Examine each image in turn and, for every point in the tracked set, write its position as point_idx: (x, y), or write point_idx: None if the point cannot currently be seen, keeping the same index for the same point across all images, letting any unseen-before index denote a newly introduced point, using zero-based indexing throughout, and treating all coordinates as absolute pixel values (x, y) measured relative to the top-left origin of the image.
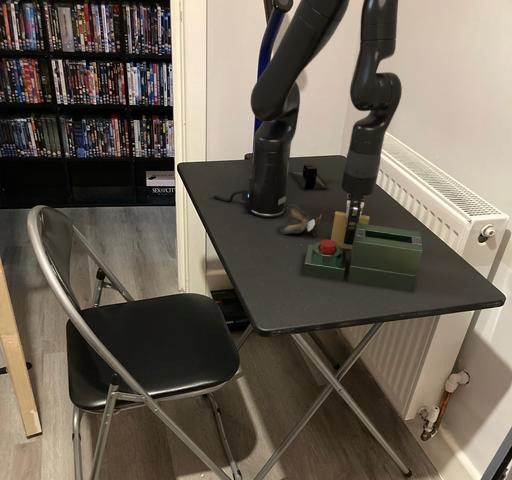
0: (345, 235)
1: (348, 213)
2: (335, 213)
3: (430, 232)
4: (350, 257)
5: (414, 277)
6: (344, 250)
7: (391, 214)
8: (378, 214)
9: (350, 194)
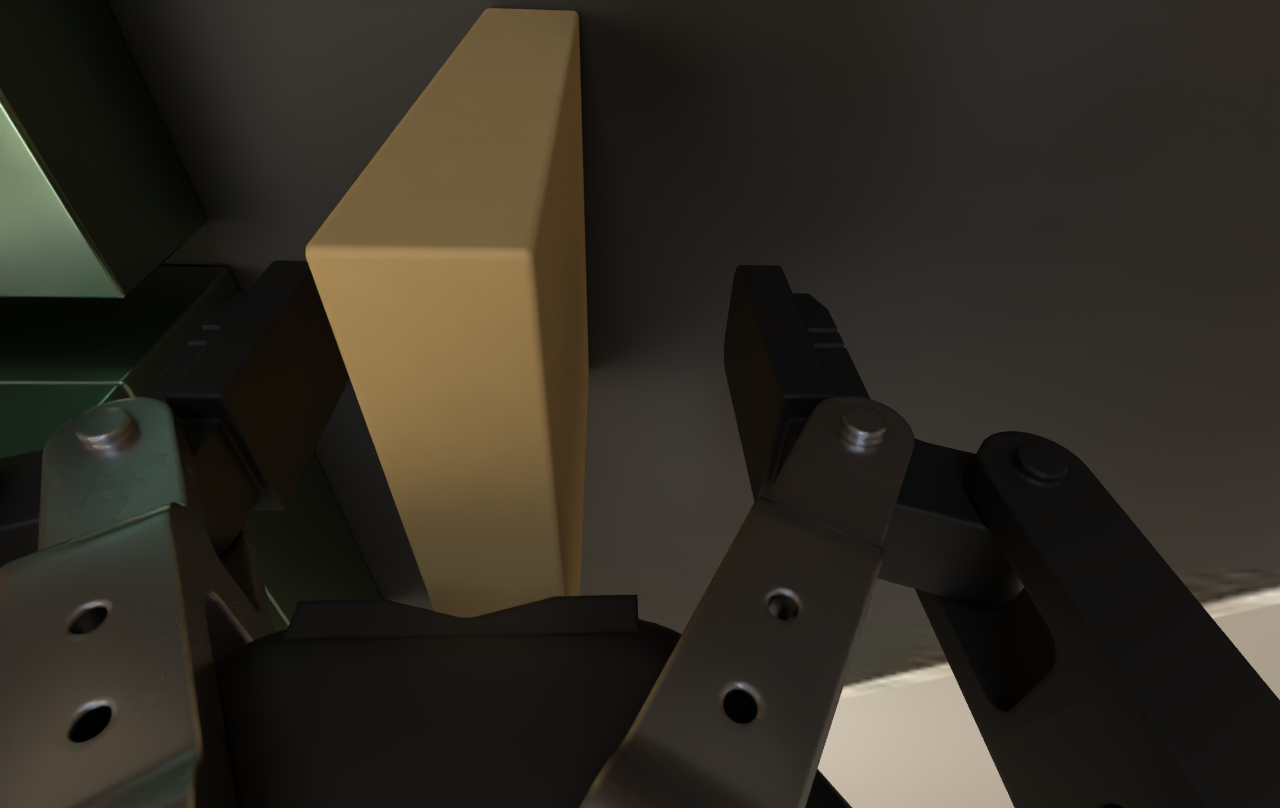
0: (222, 332)
1: (537, 520)
2: (359, 253)
3: (908, 667)
4: (64, 324)
5: None
6: (77, 271)
7: (1213, 533)
8: (1251, 466)
9: (1246, 746)
